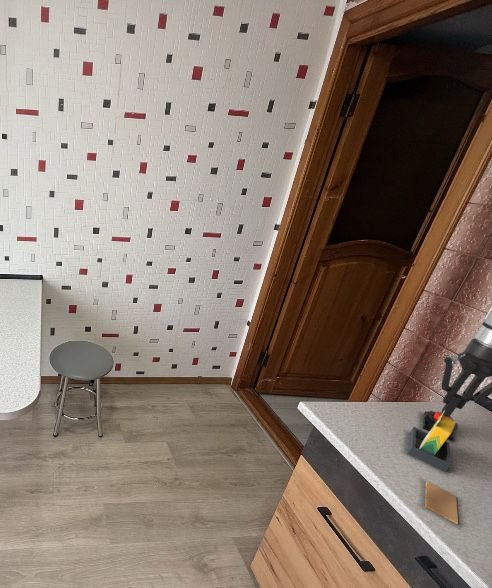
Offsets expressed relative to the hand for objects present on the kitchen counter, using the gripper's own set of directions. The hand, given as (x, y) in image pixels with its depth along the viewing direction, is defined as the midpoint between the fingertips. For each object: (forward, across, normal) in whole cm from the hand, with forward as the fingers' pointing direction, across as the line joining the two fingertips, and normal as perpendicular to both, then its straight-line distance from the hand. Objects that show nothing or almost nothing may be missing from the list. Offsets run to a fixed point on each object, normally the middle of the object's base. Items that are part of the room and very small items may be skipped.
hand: (445, 413), depth 95 cm
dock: (+5, -2, -16) cm, 16 cm away
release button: (+3, 0, 0) cm, 3 cm away
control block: (+5, 0, 0) cm, 5 cm away
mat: (+5, 0, -34) cm, 34 cm away
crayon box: (+5, -2, -16) cm, 16 cm away
